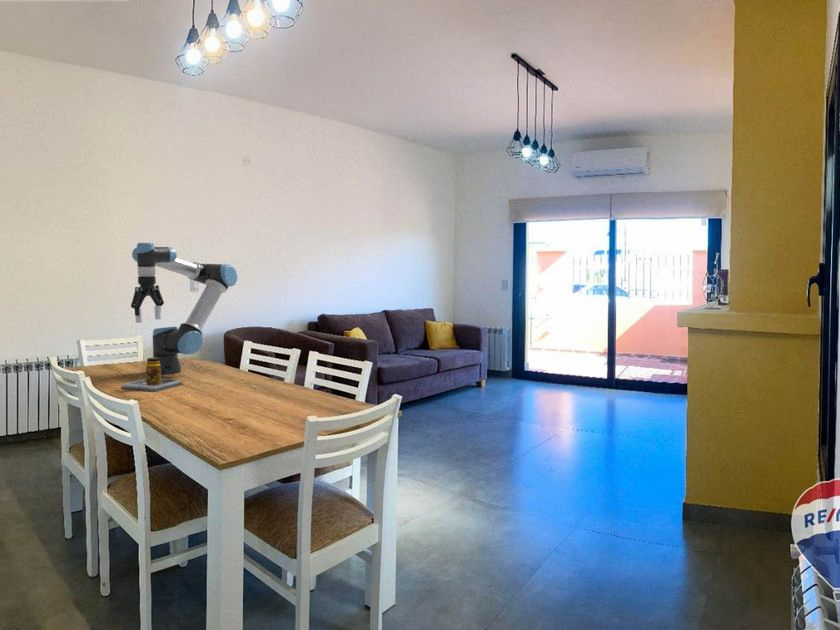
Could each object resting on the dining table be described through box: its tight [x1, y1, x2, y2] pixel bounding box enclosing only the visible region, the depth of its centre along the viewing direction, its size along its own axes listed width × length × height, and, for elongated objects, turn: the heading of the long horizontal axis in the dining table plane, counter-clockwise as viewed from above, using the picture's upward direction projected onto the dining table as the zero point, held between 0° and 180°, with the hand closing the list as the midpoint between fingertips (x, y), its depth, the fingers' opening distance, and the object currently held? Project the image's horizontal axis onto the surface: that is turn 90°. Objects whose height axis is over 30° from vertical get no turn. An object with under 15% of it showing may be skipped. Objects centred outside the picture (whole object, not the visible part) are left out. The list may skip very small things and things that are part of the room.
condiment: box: [142, 357, 163, 386], centre depth 275 cm, size 7×8×12 cm
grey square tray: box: [120, 378, 184, 393], centre depth 275 cm, size 18×18×2 cm
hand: (148, 321), depth 287 cm, fingers open, 13 cm apart
